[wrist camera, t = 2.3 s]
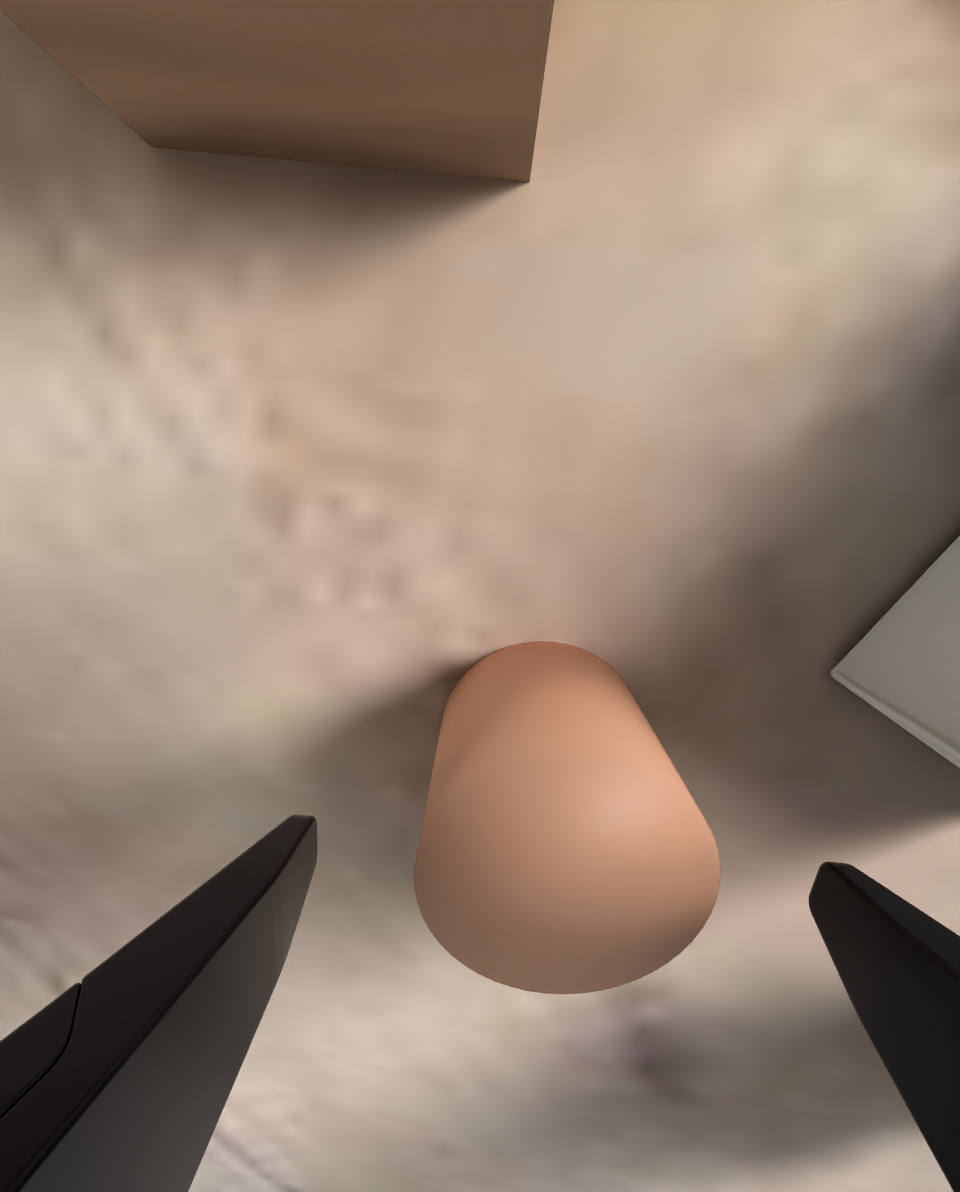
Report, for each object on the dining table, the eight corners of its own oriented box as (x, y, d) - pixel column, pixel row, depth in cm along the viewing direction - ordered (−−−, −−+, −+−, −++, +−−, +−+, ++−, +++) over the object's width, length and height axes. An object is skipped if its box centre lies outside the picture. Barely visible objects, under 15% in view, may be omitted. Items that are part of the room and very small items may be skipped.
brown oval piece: (619, 820, 13) (684, 1005, 8) (436, 803, 13) (407, 981, 8) (655, 650, 11) (754, 770, 7) (448, 632, 11) (421, 740, 7)
